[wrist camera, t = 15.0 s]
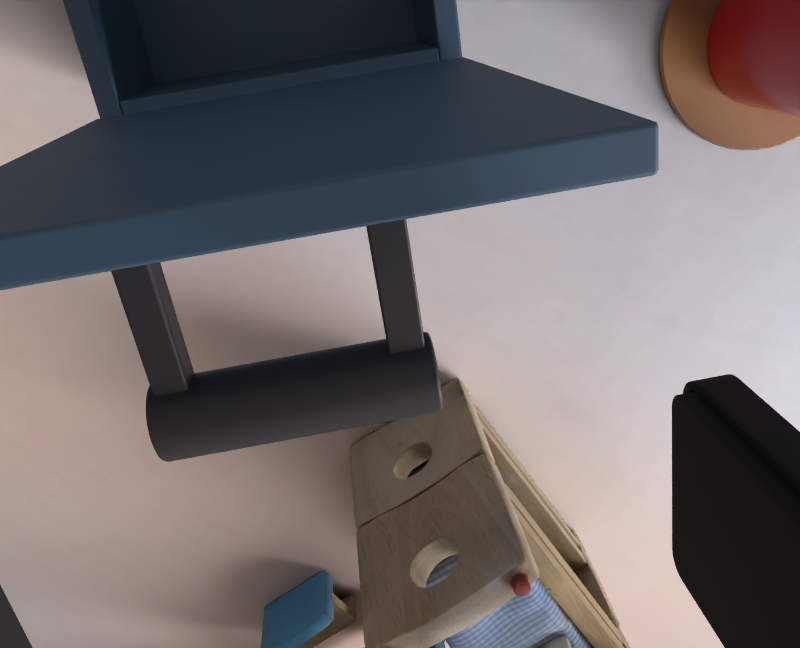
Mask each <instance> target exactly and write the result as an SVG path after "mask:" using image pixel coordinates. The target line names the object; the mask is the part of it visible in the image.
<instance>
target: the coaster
mask: <svg viewBox="0 0 800 648" xmlns="http://www.w3.org/2000/svg"><path fill="white" fill-rule="evenodd" d="M721 1H722V0H670V2H669V5H668V8H667V10H666V13H665V17H664V21H663V25H662V29H661V37H660V44H659V63H660V73H661V78H662V82H663V87H664V90H665V93H666V95H667V98H668V100H669V103H670V104H671V106H672V108H673V110H674V111H675V113H676V114H677V116H678V117H679V118H680V120H681V121H682V122H683V123H684V124H685V125H686V126H687V127H688V128H689V129H690V130H691V131H692V132H694V133H695V134H697V135H698V136H700V137H701V138H703V139H704V140H707V141H709V142H711V143H713V144H716V145H719V146H722V147H726V148H729V149H737V150H758V149H765V148H770V147H774V146H777V145H781V144H784V143H786V142H788V141H791V140H793V139H795V138H797V137H799V136H800V118H799V117H795V116H791V115H786V114H782V113H777V112H773V111H768V110H764V109H759V108H755V107H751V106H746V105H743V104H740V103H737V102H735V101H733V100H732V99H730V98H729V97H727V96H726V95H725V94H724V93H723V92H722V91H721V90H720V89H719V87H718V86H717V85H716V83H715V81H714V79H713V77H712V75H711V72H710V69H709V65H708V60H707V39H708V33H709V29H710V25H711V22H712V19H713V17H714V14H715V12H716V10H717V8H718V6H719V5H720V3H721Z"/></svg>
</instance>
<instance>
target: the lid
mask: <svg viewBox="0 0 800 648" xmlns="http://www.w3.org/2000/svg"><path fill="white" fill-rule="evenodd" d="M657 172H658V125H657V123H656V122H654V121H651V120H648V119H645V118H642V117H639V116H636V115H634V114H631V113H628V112H625V111H622V110H619V109H616V108H613V107H610V106H607V105H604V104H601V103H598V102H595V101H592V100H589V99H586V98H583V97H580V96H577V95H574V94H571V93H568V92H565V91H562V90H559V89H556V88H553V87H550V86H547V85H544V84H541V83H538V82H535V81H532V80H529V79H526V78H523V77H520V76H517V75H514V74H511V73H509V72H506V71H503V70H500V69H497V68H494V67H491V66H488V65H485V64H482V63H479V62H476V61H473V60H470V59H467V58H464V57H461V58H455V59H449V60H443V61H438V62H432V63H426V64H420V65H414V66H408V67H402V68H396V69H390V70H384V71H379V72H373V73H367V74H361V75H355V76H349V77H343V78H337V79H331V80H326V81H320V82H314V83H308V84H302V85H296V86H290V87H284V88H278V89H272V90H267V91H261V92H255V93H249V94H243V95H237V96H231V97H225V98H219V99H214V100H208V101H202V102H196V103H190V104H184V105H178V106H172V107H166V108H160V109H155V110H149V111H143V112H137V113H131V114H125V115H119V116H113V117H107V118H102V119H97V120H95V121H93V122H91V123H89V124H87V125H85V126H82V127H80V128H78V129H76V130H74V131H72V132H70V133H68V134H66V135H64V136H62V137H60V138H58V139H56V140H54V141H52V142H50V143H48V144H46V145H44V146H41V147H39V148H37V149H35V150H33V151H31V152H29V153H27V154H25V155H23V156H21V157H19V158H17V159H15V160H13V161H11V162H9V163H7V164H5V165H2V166H0V290H5V289H10V288H16V287H22V286H27V285H33V284H39V283H44V282H50V281H56V280H61V279H67V278H73V277H79V276H84V275H90V274H96V273H101V272H107V271H111V272H112V275H113V278H114V281H115V284H116V287H117V290H118V292H119V295H120V298H121V301H122V304H123V307H124V310H125V313H126V316H127V319H128V322H129V325H130V328H131V331H132V334H133V337H134V339H135V342H136V345H137V348H138V351H139V354H140V357H141V360H142V363H143V366H144V369H145V372H146V375H147V378H148V381H149V383H150V386H149V388H148V392H147V397H146V419H147V426H148V431H149V435H150V439H151V442H152V444H153V447H154V449H155V451H156V453H157V455H158V456H159V457H160V458H161V459H162V460H164V461H167V462H170V461H175V460H181V459H186V458H191V457H197V456H202V455H208V454H213V453H218V452H224V451H229V450H235V449H240V448H246V447H251V446H256V445H262V444H267V443H273V442H278V441H284V440H289V439H294V438H300V437H305V436H311V435H316V434H321V433H327V432H332V431H338V430H343V429H349V428H354V427H359V426H365V425H370V424H376V423H381V422H387V421H392V420H397V419H403V418H408V417H414V416H419V415H424V414H430V413H435V412H440V411H441V410H442V408H443V398H442V390H441V384H440V378H439V372H438V367H437V362H436V357H435V352H434V348H433V344H432V340H431V337H430V335H429V334H428V333H427V332H423V328H422V321H421V315H420V308H419V302H418V295H417V288H416V282H415V275H414V269H413V262H412V256H411V249H410V243H409V236H408V229H407V223H406V219H408V218H414V217H419V216H425V215H431V214H436V213H442V212H448V211H453V210H459V209H465V208H470V207H476V206H482V205H487V204H493V203H499V202H505V201H510V200H516V199H522V198H527V197H533V196H539V195H544V194H550V193H556V192H561V191H567V190H573V189H578V188H584V187H590V186H595V185H601V184H607V183H612V182H618V181H624V180H629V179H635V178H641V177H646V176H652V175H654V174H656V173H657ZM363 226H366V227H367V233H368V239H369V244H370V250H371V255H372V261H373V267H374V272H375V278H376V284H377V289H378V295H379V301H380V306H381V312H382V318H383V323H384V329H385V334H386V339H383V340H377V341H372V342H366V343H361V344H355V345H350V346H344V347H339V348H333V349H328V350H322V351H316V352H311V353H305V354H300V355H294V356H289V357H283V358H278V359H272V360H267V361H261V362H256V363H250V364H245V365H239V366H234V367H228V368H223V369H217V370H211V371H206V372H200V373H195V374H194V371H193V368H192V364H191V361H190V358H189V355H188V351H187V348H186V345H185V342H184V338H183V335H182V332H181V329H180V325H179V322H178V319H177V316H176V313H175V309H174V306H173V303H172V300H171V296H170V293H169V290H168V287H167V283H166V280H165V277H164V274H163V270H162V267H161V264H160V262H164V261H169V260H175V259H181V258H186V257H192V256H198V255H203V254H209V253H215V252H221V251H226V250H232V249H238V248H243V247H249V246H255V245H260V244H266V243H272V242H277V241H283V240H289V239H294V238H300V237H306V236H311V235H317V234H323V233H328V232H334V231H340V230H345V229H351V228H357V227H363Z"/></svg>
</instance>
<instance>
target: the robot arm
mask: <svg viewBox="0 0 800 648" xmlns="http://www.w3.org/2000/svg"><path fill="white" fill-rule="evenodd" d="M672 550H673V558H674V562H675V565H676V568H677V571H678V573H679V576H680V577H681V579H682V581H683V582H684V584H685V586H686V587H687V589H688V590H689V592H690V594H691V595H692V597H693V598H694V600H695V601H696V603H697V605H698V606H699V608H700V609H701V611H702V612H703V614H704V616H705V617H706V619H707V620H708V622H709V623H710V625H711V627H712V628H713V630H714V631H715V633H716V634H717V636H718V638H719V639H720V641H721V642H722V644H723V645H724V647H725V648H800V432H799V431H798V430H797V429H796V428H795V427H793V426H792V425H791V424H790V423H789V422H788V421H787V420H785V419H784V418H783V417H782V416H781V415H780V414H779V413H777V412H776V411H775V410H774V409H773V408H772V407H771V406H769V405H768V404H767V403H766V402H765V401H764V400H763V399H761V398H760V397H759V396H758V395H757V394H756V393H754V392H753V391H752V390H751V389H750V388H749V387H748V386H746V385H745V384H744V383H743V382H742V381H741V380H740V379H738V378H737V377H735V376H734V375H722V376H717V377H712V378H707V379H701V380H696V381H691V382H688V383H687V384H686V385H685V388H684V390H683V394H681V395H676V396H675V397H674V399H673V402H672ZM0 648H32V646H31V644H30V642H29V640H28V638H27V636H26V634H25V632H24V630H23V628H22V626H21V625H20V623H19V621H18V619H17V617H16V615H15V613H14V611H13V609H12V607H11V605H10V603H9V601H8V599H7V597H6V595H5V593H4V591H3V589H2V587H1V585H0Z"/></svg>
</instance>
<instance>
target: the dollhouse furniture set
mask: <svg viewBox="0 0 800 648" xmlns="http://www.w3.org/2000/svg"><path fill="white" fill-rule="evenodd" d="M441 390H442V398H443V408H442V410H441V411H440V412H435V413H430V414H424V415H419V416H414V417H408V418H403V419H397V420H395V421H393V422H391V423H389V424H388V425H386V426H384V427H382V428H381V429H379V430H377V431H375V432H373V433H371V434H369V435H367V436H366V437H364V438H363V439H361V440H359V441H358V442H356V443H355V444H353V445H352V446H351V448H350V453H351V470H352V486H353V500H354V516H355V524H356V527H357V528H358V531H357V548H358V562H359V575H360V588H361V600H362V610H363V628H364V642H365V648H445V644H444V641H445V640H446V642H447V643H448V645H449V646H450V648H630V647H629V645H628V642H627V641H626V639H625V637H624V635H623V633H622V631H621V629H620V628H619V626H620V624H619V621H618V618H617V616H616V614H615V612H614V610H613V608H612V605H611V603H610V601H609V599H608V597H607V595H606V593H605V591H604V589H603V586H602V584H601V582H600V580H599V578H598V576H597V574H596V572H595V570H594V567H593V565H592V563H591V561H590V559H589V557H588V555H587V553H586V551H585V549H584V546H583V544H582V542H581V541H580V539H579V537H578V536H577V534H576V533H575V532H574V530H572V529H569V528H568V526H567V525H566V524H565V522H564V521H563V520H562V518H561V517H560V516H559V514H558V513H557V512H556V510H555V509H554V508H553V506H552V505H551V504H550V503H549V501H548V500H547V499H546V497H545V496H544V495H543V493H542V492H541V491H540V489H539V488H538V487H537V485H536V484H535V483H534V481H533V480H532V479H531V477H530V476H529V475H528V474H527V472H526V471H525V470H524V468H523V467H522V466H521V464H520V463H519V462H518V460H517V459H516V458H515V456H514V455H513V454H512V452H511V451H510V450H509V448H508V447H507V446H506V444H505V443H504V442H503V440H502V439H501V438H500V437H499V435H498V434H497V433H496V431H495V430H494V429H493V427H492V426H491V425H490V424H489V422H488V421H487V420H486V418H485V417H484V416H483V415H482V413H481V412H480V411H479V409H478V408H477V407H476V406H475V404H474V403H473V402H472V399H471V396H470V394H469V392H468V390H467V389H466V387H465V386H464V385H463V383H462V382H461V381H460V380H459V379H458V378H455V379H453V380H451V381H450V382H448V383H447V384H445V385H444V386H442V387H441ZM355 621H356V605H355V598H354V597H353V596H351V595H350V596H347V597H346V598H344V599H343V600H340V599H339V598H337V597H336V596H335V595H334V593H333V578H332V576H331V575H330V574H329V573H328V572H327V571H322V572H320V573H318V574H317V575H315V576H314V577H312V578H311V579H309V580H307V581H306V582H304V583H302V584H301V585H299V586H298V587H296V588H294V589H293V590H291V591H290V592H288V593H286V594H285V595H283V596H282V597H280V598H278V599H277V600H275V601H274V602H272V603H270V604H269V605H267V606H266V607H265V610H264V622H263V631H262V641H261V648H313V647H314V646H316V645H318V644H319V643H321V642H323V641H324V640H326V639H327V638H329V637H331V636H332V635H334V634H336V633H337V632H339V631H341V630H342V629H344V628H346V627H347V626H349V625H351V624H352V623H354V622H355Z"/></svg>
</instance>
